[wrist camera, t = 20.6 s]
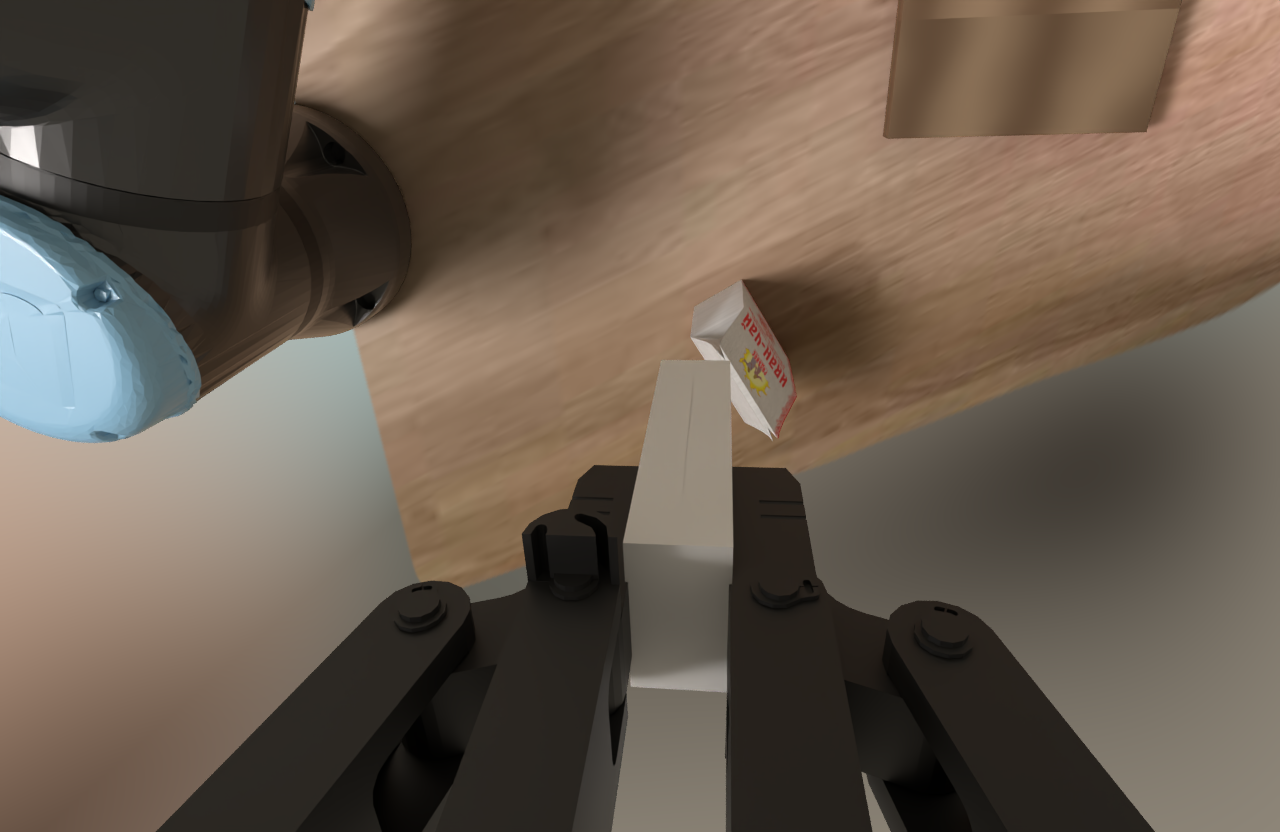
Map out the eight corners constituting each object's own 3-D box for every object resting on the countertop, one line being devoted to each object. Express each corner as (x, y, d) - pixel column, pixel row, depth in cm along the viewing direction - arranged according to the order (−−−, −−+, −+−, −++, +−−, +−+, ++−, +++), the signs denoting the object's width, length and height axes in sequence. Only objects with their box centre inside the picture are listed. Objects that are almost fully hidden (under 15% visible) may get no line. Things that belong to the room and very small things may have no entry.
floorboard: (883, 136, 42) (887, 138, 41) (910, -110, 37) (917, -116, 36) (1133, 129, 41) (1146, 132, 39) (1200, -129, 35) (1218, -135, 34)
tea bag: (742, 384, 51) (746, 454, 42) (694, 306, 48) (687, 362, 39) (789, 360, 49) (803, 426, 40) (741, 279, 47) (745, 331, 38)
